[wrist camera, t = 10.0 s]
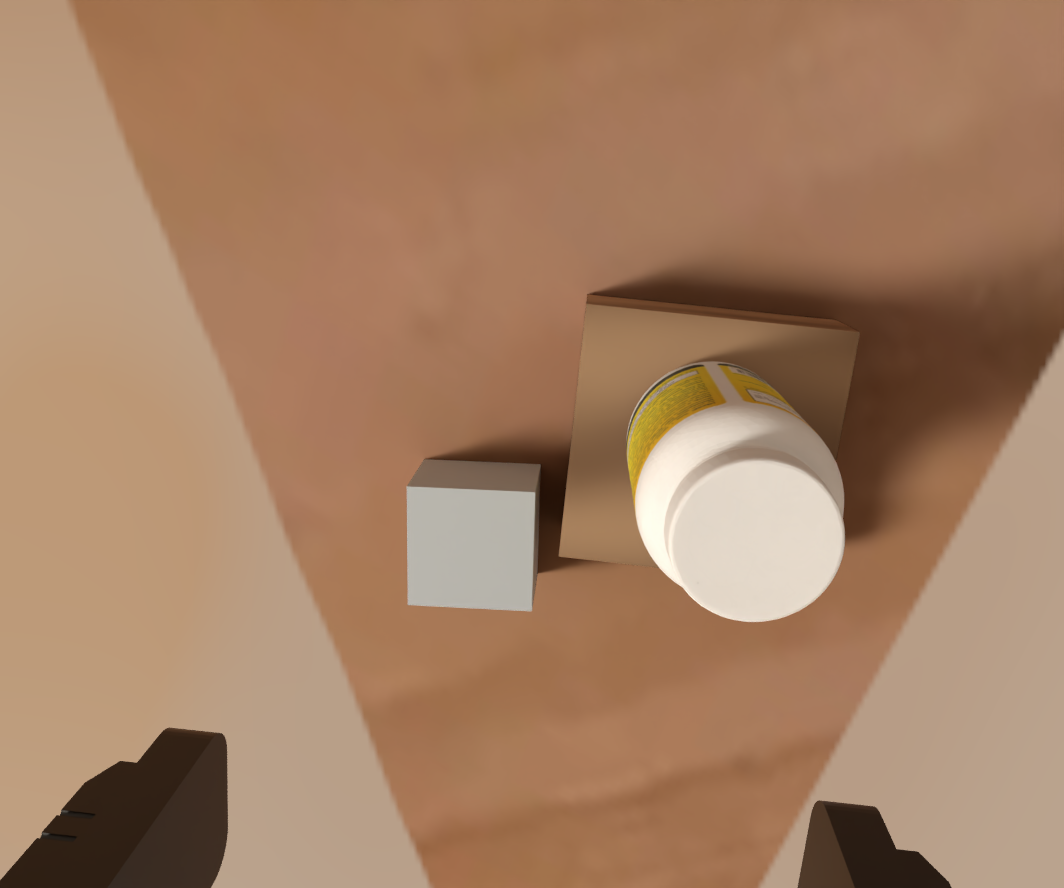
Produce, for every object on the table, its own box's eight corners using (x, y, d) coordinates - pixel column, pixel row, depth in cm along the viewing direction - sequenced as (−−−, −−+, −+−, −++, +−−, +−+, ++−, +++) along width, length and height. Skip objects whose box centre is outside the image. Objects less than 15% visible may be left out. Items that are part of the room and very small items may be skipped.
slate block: (424, 458, 40) (406, 486, 36) (540, 463, 40) (535, 492, 36) (425, 566, 42) (407, 604, 38) (537, 572, 41) (531, 611, 37)
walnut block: (587, 294, 38) (586, 304, 34) (836, 319, 37) (860, 332, 34) (561, 526, 40) (558, 556, 37) (794, 552, 40) (812, 585, 37)
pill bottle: (628, 519, 36) (641, 653, 26) (622, 362, 35) (633, 435, 24) (790, 513, 36) (871, 647, 25) (791, 354, 34) (878, 425, 24)
